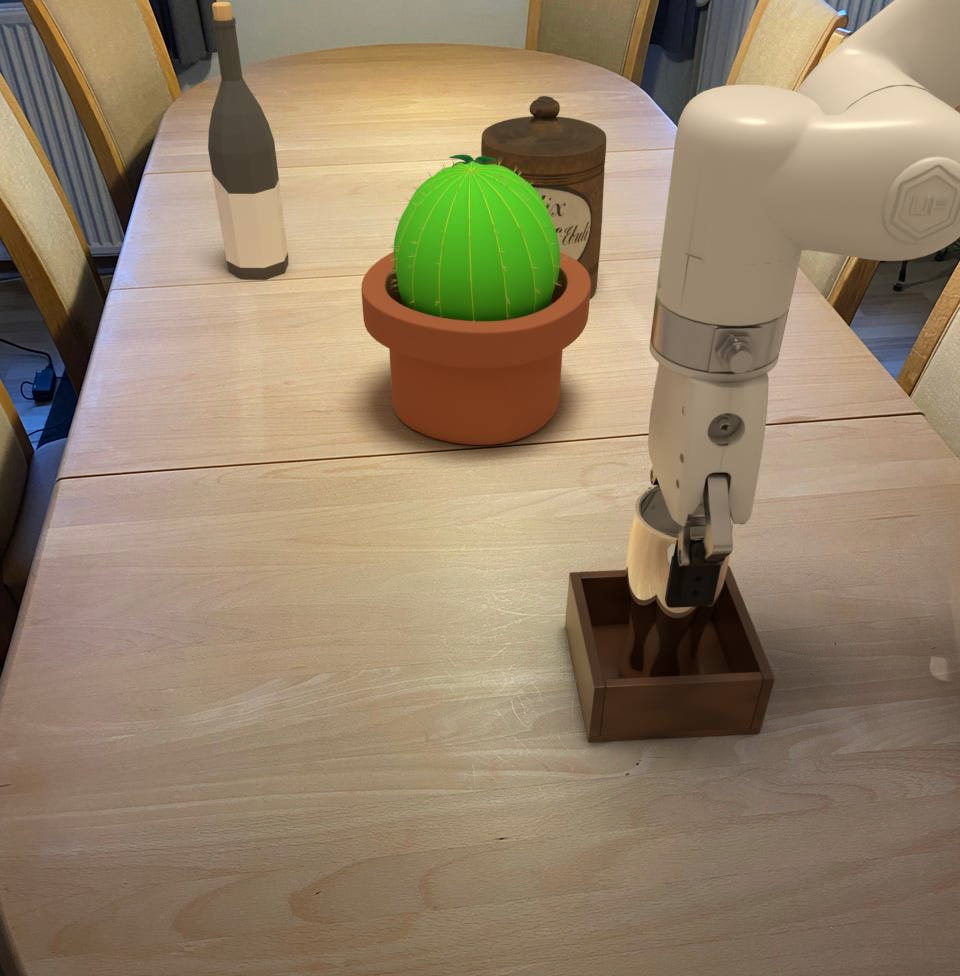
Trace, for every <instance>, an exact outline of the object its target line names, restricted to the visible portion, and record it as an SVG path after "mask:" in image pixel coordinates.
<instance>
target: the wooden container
mask: <svg viewBox="0 0 960 976" xmlns="http://www.w3.org/2000/svg"><path fill="white" fill-rule="evenodd" d="M528 111H529V113H530V114H531V115H530V116H520V117H514V118H509V119H505V120H501V121H499V122H495V123H493V124H491V125H489V126H487V127H486V128H485V129H484V130H483V131H482V133H481V143H480V147H481V148H480V154H481V155H480V156H485V157H490V158H493V159H496V160H498V161H489V162H486V163H490V164H493V163H494V164H496V165H498V163H499V162H500V163H499V166H503V167H506V168H508V169H510V170H511V171H513V172H514V171H515V170H514V169H516V171H515V172H514V173H516V174H517V175H519V177H521V178H523V179H524V180H525V181H527V182H528V181H529V182H528V183H529V184H531V183H532V182H533V183H532V184H531V186H532V187H533V188H534V189H535V190H536V191H537V192H538V194H539V195H540V196H541V198H542V200H544V203H546V202H547V203H546V204H545V205H546V207H547V209H548V212H549V215H550V218H551V220H552V222H553V225H554V227H555V228H556V229H555V230H556V233H557V237H558V238H561V239H558V242H559V246H565V247H559V248H560V252H561V253H564V254H566V255H568V256H570V257H571V258H573V259H575V260H576V261H578V262H579V263H580V264H581V265H582V266H583V267H584V268H585V269H586V270H587V272H588V274H589V276H590V281H591V290H590V298H591V297H592V296H593V295H594V294H595V293H596V291H597V287H598V279H599V278H598V276H599V266H600V265H599V264H600V255H601V246H602V245H601V242H602V229H603V212H604V211H603V209H604V207H603V206H604V190H605V189H604V188H605V171H606V169H605V164H606V155H607V134H606V132H605V131H604V130H603V129H602V128H600V127H599V126H597V125H595V124H593V123H590V122H588V121H584V120H580V119H576V118H573V117H564V116H559V114H560V112H561V105H560V103H559V102H558V101H557V100H556V99H554V98H553V97H552V96H548V95H540V96H538V97H537V99H535V100H533V101H532V102H531V103H530V106H529V109H528ZM502 158H503V159H502ZM500 159H501V160H502V161H501V160H500ZM496 162H497V163H496ZM486 163H485V164H486ZM515 165H516V166H515ZM516 167H517V168H516ZM519 170H520V171H519ZM520 172H521V173H520ZM519 173H520V174H519ZM548 197H549V198H548ZM545 199H546V200H545ZM548 201H549V202H548ZM549 203H550V204H549ZM547 204H548V205H547ZM555 216H556V217H555ZM553 218H554V219H555V220H554V219H553ZM557 218H558V219H557ZM557 226H558V227H560V228H558V227H557ZM563 235H564V236H563ZM562 238H563V239H562ZM564 238H565V239H564Z"/></svg>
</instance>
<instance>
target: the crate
mask: <svg viewBox="0 0 960 976" xmlns="http://www.w3.org/2000/svg"><path fill="white" fill-rule="evenodd" d="M568 574H569V575H568V585H567V597H566V608H565V609H566V611H565V622H564V627H565V632H566V638H567V642H568V648H569V652H570V657H571V662H572V667H573V672H574V677H575V683H576V687H577V692H578V699H579V703H580V708H581V713H582V718H583V722H584V727H585V728H584V729H585V732H586V738H587V742H588V743H595V742H596V743H597V742H614V741H615V742H617V741H632V740H633V741H635V740H652V739H653V740H654V739H673V738H690V737H691V738H693V737H710V736H729V735H730V736H731V735H748V734H750V735H751V734H760V733H761V730H762V727H763V723H764V720H765V715H766V713H767V709H768V705H769V702H770V699H771V694H772V692H773V691H772V690H773V687H774V684H775V680H776V678H775V675H774V673H773V670H772V668H771V666H770V663H769V661H768V659H767V655H766V653H765V650H764V648H763V646H762V645H763V644H762V643H761V641H760V639H759V636H758V633H757V630H756V628H755V625H754V623H753V621H752V618H751V616H750V613H749V611H748V608H747V605H746V604H745V601H744V599H743V596H742V594H741V591H740V589H739V587H738V583H737V581H736V579H735V576H734V574H733V571H732V569H731V565H728V568H727V572H726V576H725V580H724V584H723V587H722V590H721V592H720V595H719V598H718V600H717V603H716V605H715V607H714V609H713V612H712V614H711V616H710V618H709V621H708V623H707V625H706V627H705V630H704V632H703V634H702V637H701V641H700V646H699V666H700V672H699V675H687V676H666V677H645V678H624V679H622V677H621V675H620V671H619V661H620V657H621V654H622V652H623V649H624V647H625V644H626V641H627V638H628V633H629V617H628V606H627V596H626V583H625V569H614V570H613V569H612V570H589V571H572V572H569V573H568Z"/></svg>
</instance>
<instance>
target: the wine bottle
mask: <svg viewBox="0 0 960 976" xmlns="http://www.w3.org/2000/svg"><path fill="white" fill-rule="evenodd" d="M211 7H212V14H213V17H212V19H211V23H212V26H213V31H214V38H215V46H216V52H217V59H218V65H219V72H220V73H219V74H220V78H221V79H220V84H219V87H218V91H217V94H216V96H215V100H214V103H213V107H212V109H211V114H210V120H209V126H208V139H207V140H208V141H207V149H208V150H207V151H208V157H209V162H210V168H211V175H212V180H213V186H214V187H213V188H214V193H215V199H216V206H217V211H218V217H219V223H220V224H219V225H220V230H221V236H222V242H223V249H224V254H225V260H226V265H227V269H228V273H230V274H232V275H234V276H236V277H238V278H239V279H241V280H268V279H271V278H274V277H276V276H279V275H282V274H285V273H286V270H287V268H288V266H289V251H288V241H287V234H286V225H285V217H284V210H283V202H282V193H281V192H282V191H281V184H280V179H279V178H280V177H279V168H278V160H277V152H276V143H275V138H274V135H273V133H272V130H271V127H270V124H269V122H268V119H267V117H266V115H265V112H264V111H263V109H262V106H261V104H260V103H259V102H258V100H257V99H256V97H255V95H254V94H253V92H252V91H251V89H250V87H249V86H248V85H247V83H246V81H245V79H244V78H243V72H242V71H243V70H242V64H241V57H240V50H239V42H238V35H237V34H238V33H237V27H236V24H237V21H236V17H235V16H233V10H232V3H231V2H228V1H217V2H213V3H212V4H211Z"/></svg>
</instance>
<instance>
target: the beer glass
mask: <svg viewBox="0 0 960 976" xmlns="http://www.w3.org/2000/svg"><path fill="white" fill-rule="evenodd" d="M651 487H652V488H650V489H648V488H647V489H646V490H645V491H644V492H642V493H641V494H640V495H639V496H638V498H637V500H636V501H635V506H634V507H635V508H634V513H633V514H634V515H633V518H632V522H631V527H630V531H629V536H628V541H627V548H626V554H625V555H626V556H625V565H624V570H625V583H626V596H627V606H628V617H629V633H628V638H627V641H626V644H625V647H624V649H623V652H622V654H621V657H620V661H619V671H620V675H621V677H622V679H624V678H645V677H666V676H687V675H699V672H700V666H699V646H700V641H701V637H702V634H703V632H704V630H705V627H706V625H707V623H708V621H709V618H710V616H711V614H712V612H713V609H714V607H715V605H716V603H717V600H718V598H719V595H720V592H721V590H722V587H723V584H724V580H725V576H726V572H727V568H728V566H729V561H730V555H731V554H730V555H728V556H727V557H725V560H724V563H723V565H721V569H720V574H719V579H718V583H717V588H716V593H715V598H714V602H713V604H712V605H710V606H701V607H678V608H669V607H667V605H666V602H665V595H666V589H667V583H668V577H669V571H670V565H671V559H672V556H677V555H678V523H677V522H676V521H675V520H673V518H672V517H671V515H670V512H669V510H668V507H667V505H666V502H665V499H664V497H663V494H662V491H661V488H660V486H659V485H653V486H651ZM695 514H705V512H704V505H699V506H698V507H697V509H696V510H695V512H694V513H693V514H689V515H695ZM730 517H731V516H730ZM733 527H734V523H733V521H732V518H731V528H732V530H733ZM705 536H706V526H694V527H691V546H692V545H694V544H696V543H703V540H704V539H705Z"/></svg>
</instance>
